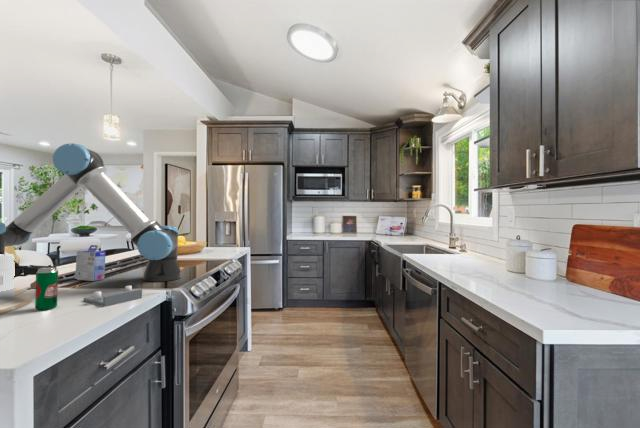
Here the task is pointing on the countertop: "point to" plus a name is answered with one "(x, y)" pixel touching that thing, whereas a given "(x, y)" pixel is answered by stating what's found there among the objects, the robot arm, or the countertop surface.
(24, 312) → the countertop surface
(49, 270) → the soda can
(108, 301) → the dock
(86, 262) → the ink cartridge box
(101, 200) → the robot arm
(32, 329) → the countertop surface
